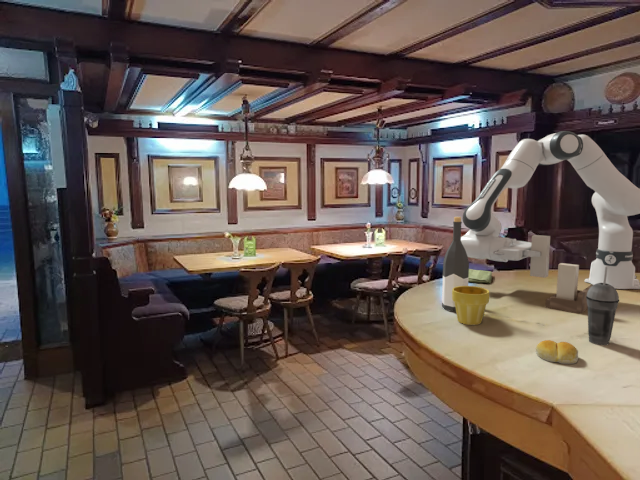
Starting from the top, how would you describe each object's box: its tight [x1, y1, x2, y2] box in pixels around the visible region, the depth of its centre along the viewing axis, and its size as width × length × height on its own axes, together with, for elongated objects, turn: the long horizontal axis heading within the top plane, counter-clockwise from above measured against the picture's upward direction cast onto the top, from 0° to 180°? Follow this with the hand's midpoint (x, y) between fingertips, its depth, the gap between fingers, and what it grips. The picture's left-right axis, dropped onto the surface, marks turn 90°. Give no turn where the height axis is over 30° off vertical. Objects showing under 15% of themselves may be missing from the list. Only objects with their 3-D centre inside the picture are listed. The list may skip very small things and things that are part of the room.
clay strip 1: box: [529, 234, 551, 278], centre depth 155 cm, size 3×5×14 cm, turn 46°
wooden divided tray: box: [545, 284, 593, 315], centre depth 145 cm, size 16×10×8 cm, turn 136°
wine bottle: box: [441, 216, 470, 312], centre depth 145 cm, size 8×8×30 cm
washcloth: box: [468, 268, 493, 285], centre depth 191 cm, size 13×18×3 cm
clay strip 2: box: [555, 262, 580, 301], centre depth 140 cm, size 3×5×14 cm, turn 46°
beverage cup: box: [586, 267, 620, 346], centre depth 115 cm, size 7×7×20 cm
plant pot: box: [452, 285, 490, 326], centre depth 133 cm, size 10×10×10 cm
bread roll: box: [535, 339, 579, 365], centre depth 106 cm, size 8×9×4 cm
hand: (542, 253), depth 154 cm, fingers closed on clay strip 1, 3 cm apart
